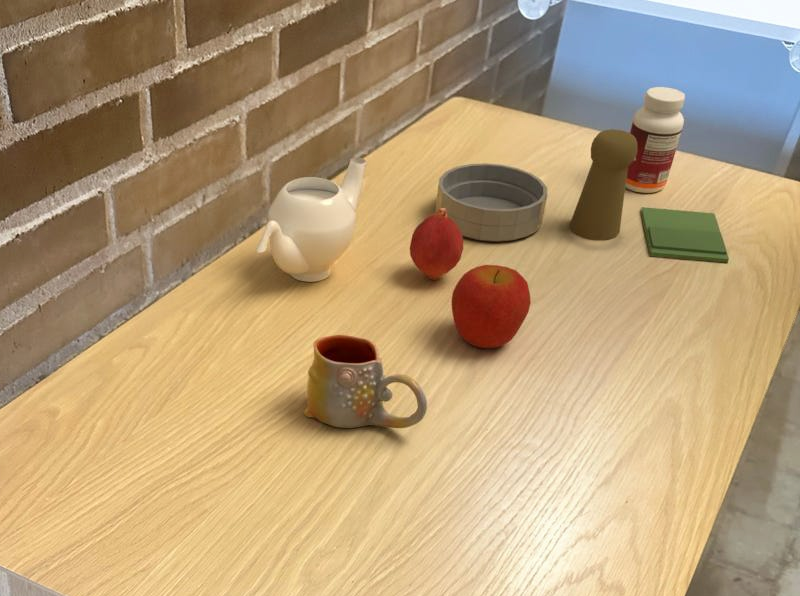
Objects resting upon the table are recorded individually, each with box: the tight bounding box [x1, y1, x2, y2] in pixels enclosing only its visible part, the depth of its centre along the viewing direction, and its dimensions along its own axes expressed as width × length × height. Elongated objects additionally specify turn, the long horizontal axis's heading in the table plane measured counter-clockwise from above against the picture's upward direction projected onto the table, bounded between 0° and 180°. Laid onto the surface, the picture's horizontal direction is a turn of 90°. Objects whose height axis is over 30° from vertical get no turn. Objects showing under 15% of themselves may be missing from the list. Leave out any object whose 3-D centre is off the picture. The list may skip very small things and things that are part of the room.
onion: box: [409, 208, 464, 281], centre depth 106 cm, size 6×6×8 cm
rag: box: [640, 206, 730, 264], centre depth 118 cm, size 9×12×1 cm
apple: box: [450, 264, 531, 349], centre depth 98 cm, size 8×8×8 cm
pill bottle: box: [625, 86, 686, 194], centre depth 123 cm, size 6×6×11 cm
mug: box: [303, 334, 428, 429], centre depth 88 cm, size 12×7×7 cm, turn 55°
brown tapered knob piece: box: [569, 128, 637, 241], centre depth 114 cm, size 6×6×11 cm
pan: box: [434, 162, 548, 243], centre depth 118 cm, size 13×13×4 cm
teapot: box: [255, 157, 367, 283], centre depth 106 cm, size 10×20×9 cm, turn 146°
